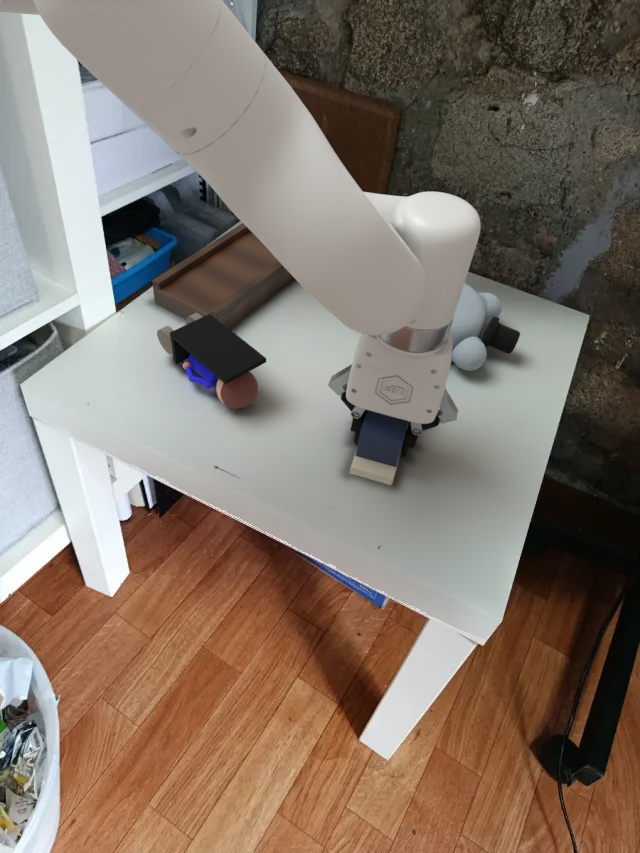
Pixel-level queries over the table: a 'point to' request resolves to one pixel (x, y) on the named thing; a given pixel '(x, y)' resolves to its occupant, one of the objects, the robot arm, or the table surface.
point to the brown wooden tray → (222, 279)
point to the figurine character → (214, 358)
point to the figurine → (478, 329)
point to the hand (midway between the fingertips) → (382, 440)
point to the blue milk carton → (379, 447)
